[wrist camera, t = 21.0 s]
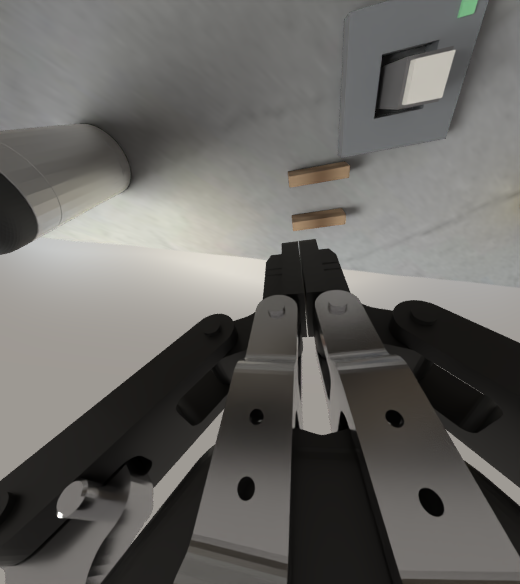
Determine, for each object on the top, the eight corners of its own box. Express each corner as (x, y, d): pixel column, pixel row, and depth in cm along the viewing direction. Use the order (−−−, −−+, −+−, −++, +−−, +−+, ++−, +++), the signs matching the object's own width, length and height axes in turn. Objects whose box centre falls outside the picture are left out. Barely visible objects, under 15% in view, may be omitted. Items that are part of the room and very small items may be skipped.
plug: (374, 108, 26) (402, 109, 20) (380, 67, 24) (413, 54, 18) (406, 102, 26) (444, 101, 20) (415, 59, 23) (461, 43, 17)
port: (337, 154, 30) (342, 158, 28) (344, 19, 22) (351, 10, 20) (434, 136, 28) (447, 138, 26) (478, -20, 20) (501, -35, 18)
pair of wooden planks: (292, 223, 37) (293, 231, 34) (288, 171, 32) (288, 176, 29) (341, 216, 35) (345, 224, 33) (344, 161, 30) (349, 165, 28)
